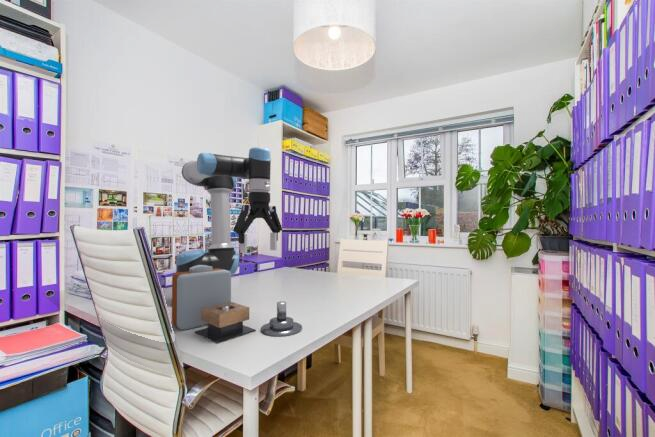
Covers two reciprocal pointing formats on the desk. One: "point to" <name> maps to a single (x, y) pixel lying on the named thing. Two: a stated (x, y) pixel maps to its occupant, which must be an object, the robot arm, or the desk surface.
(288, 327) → the hub
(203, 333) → the stand
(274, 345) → the desk surface
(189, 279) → the grey rounded upright slab
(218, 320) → the brown square ring block
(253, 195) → the robot arm
